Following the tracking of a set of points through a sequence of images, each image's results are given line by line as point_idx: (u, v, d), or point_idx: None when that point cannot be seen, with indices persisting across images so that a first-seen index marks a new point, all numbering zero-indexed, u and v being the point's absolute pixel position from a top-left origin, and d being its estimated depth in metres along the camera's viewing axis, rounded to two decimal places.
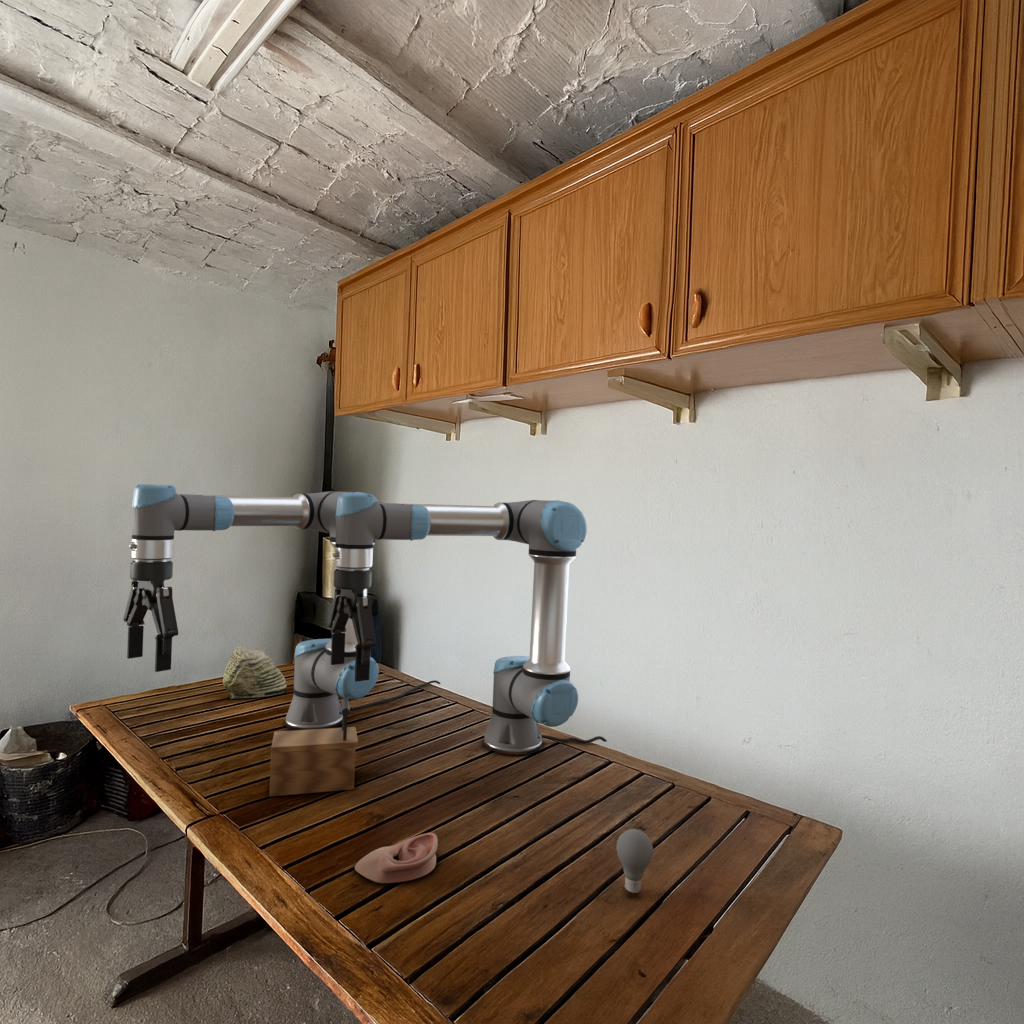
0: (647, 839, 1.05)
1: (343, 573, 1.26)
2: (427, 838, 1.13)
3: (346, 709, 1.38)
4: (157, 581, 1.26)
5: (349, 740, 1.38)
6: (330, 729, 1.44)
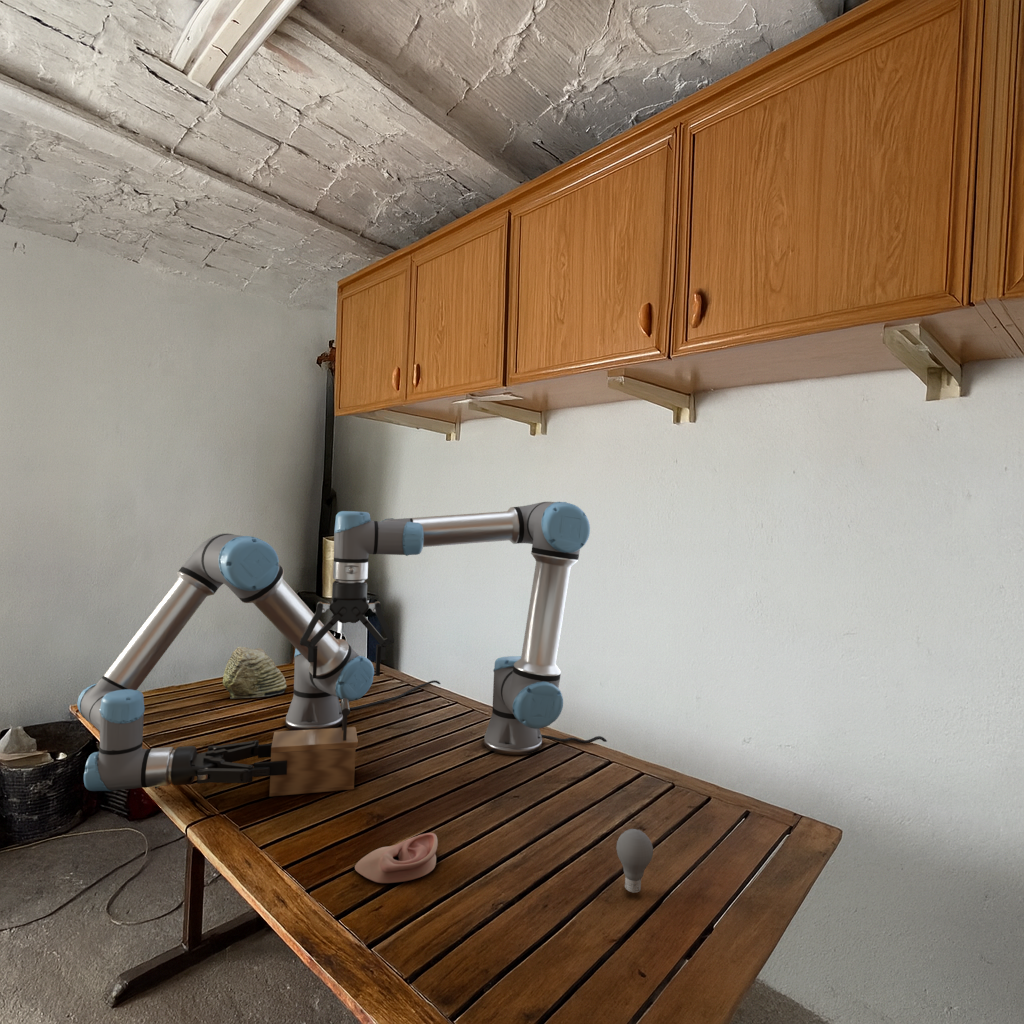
0: (647, 839, 1.05)
1: (361, 585, 1.39)
2: (427, 838, 1.13)
3: (346, 709, 1.38)
4: (190, 773, 1.29)
5: (349, 740, 1.38)
6: (330, 729, 1.44)
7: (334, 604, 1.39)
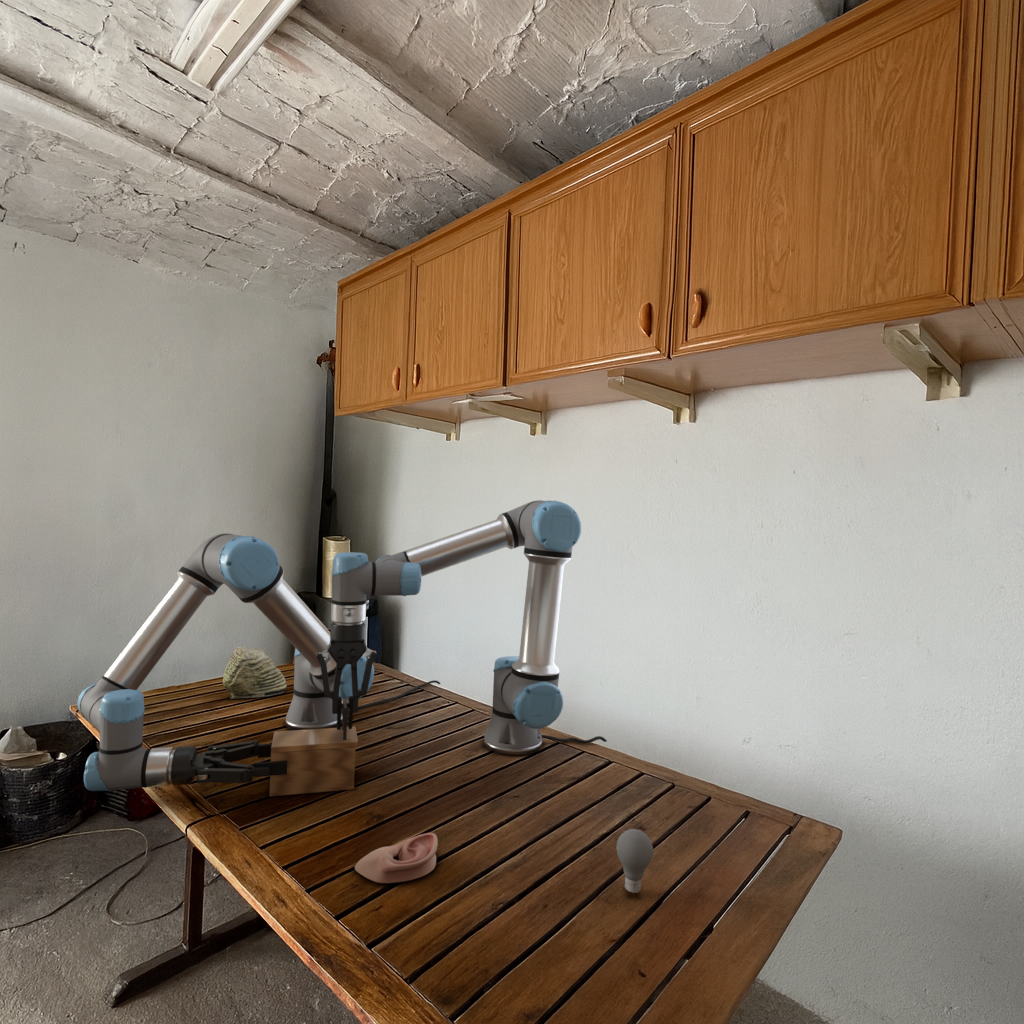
0: (647, 839, 1.05)
1: (359, 627, 1.39)
2: (427, 838, 1.13)
3: (346, 709, 1.38)
4: (190, 773, 1.29)
5: (349, 740, 1.38)
6: (330, 729, 1.44)
7: (330, 647, 1.39)
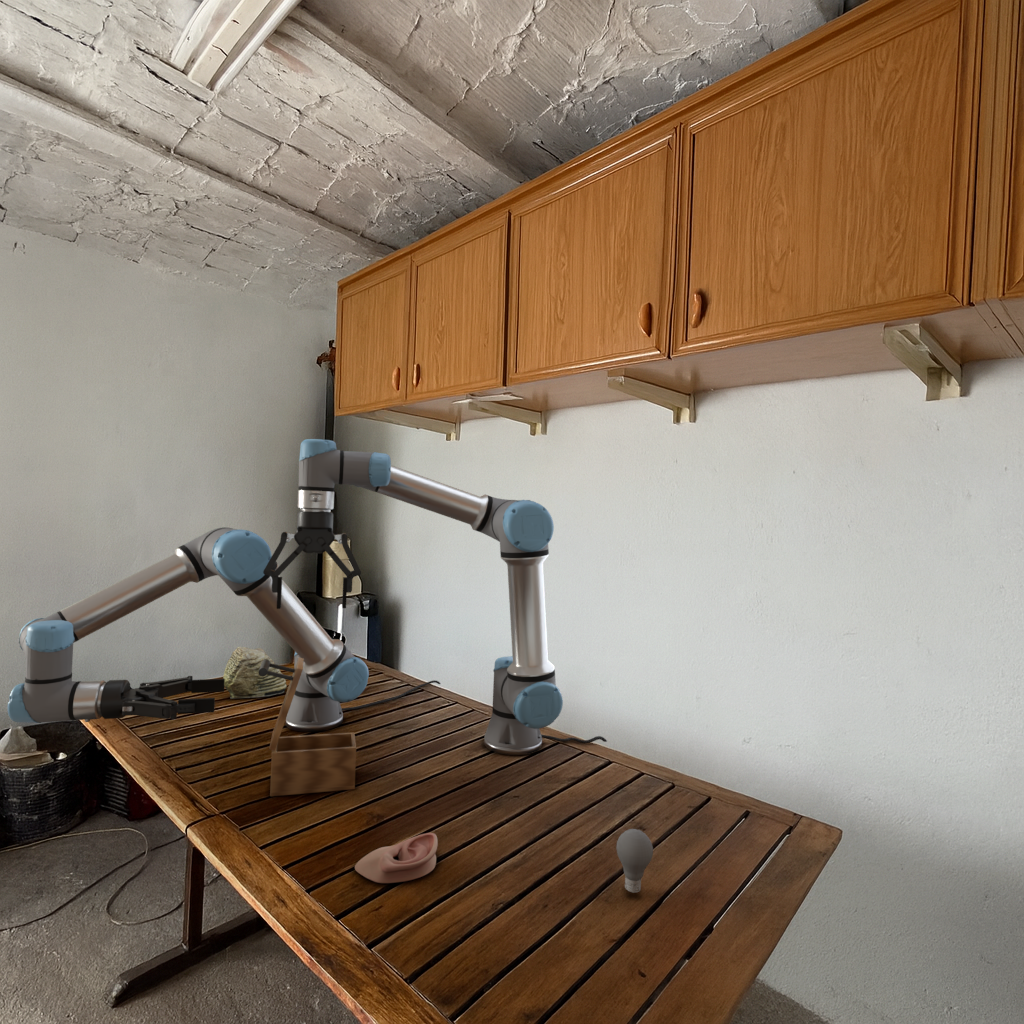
0: (647, 839, 1.05)
1: (326, 514, 1.36)
2: (427, 838, 1.13)
3: (260, 671, 1.32)
4: (120, 706, 1.25)
5: (294, 674, 1.34)
6: (290, 682, 1.41)
7: (299, 533, 1.36)
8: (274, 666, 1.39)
